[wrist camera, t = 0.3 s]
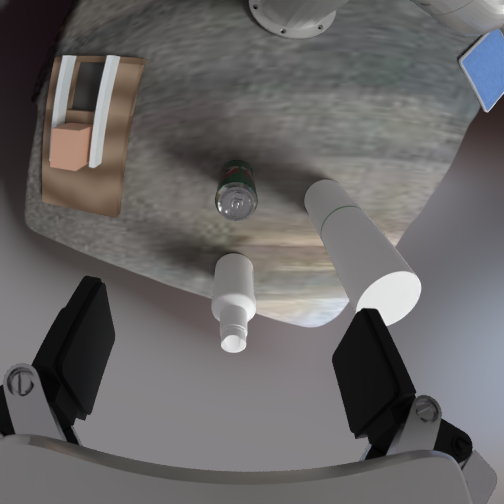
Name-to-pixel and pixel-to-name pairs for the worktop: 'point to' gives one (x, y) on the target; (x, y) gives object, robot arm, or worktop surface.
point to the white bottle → (233, 299)
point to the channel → (101, 107)
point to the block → (71, 146)
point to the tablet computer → (486, 68)
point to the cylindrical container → (361, 253)
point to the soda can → (236, 191)
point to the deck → (83, 112)
